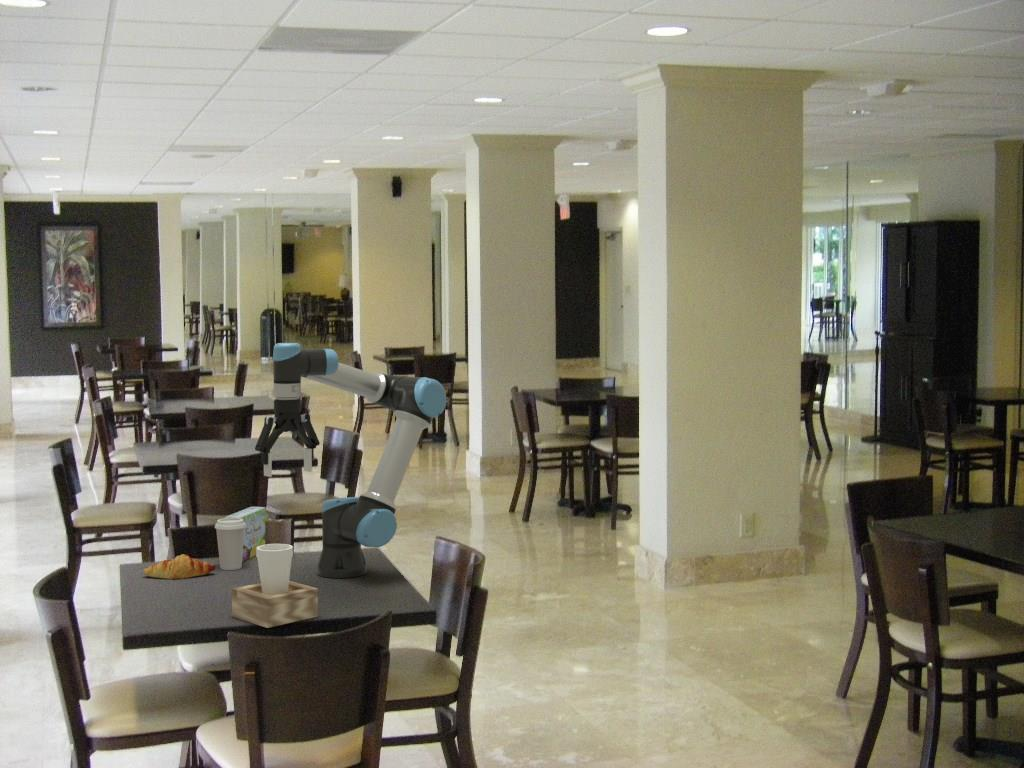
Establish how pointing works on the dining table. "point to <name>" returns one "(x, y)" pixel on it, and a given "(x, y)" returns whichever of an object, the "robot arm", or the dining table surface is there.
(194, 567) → the croissant
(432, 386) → the robot arm
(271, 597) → the wooden box
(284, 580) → the foam cup
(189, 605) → the dining table surface
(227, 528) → the coffee cup
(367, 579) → the dining table surface
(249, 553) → the snack box
